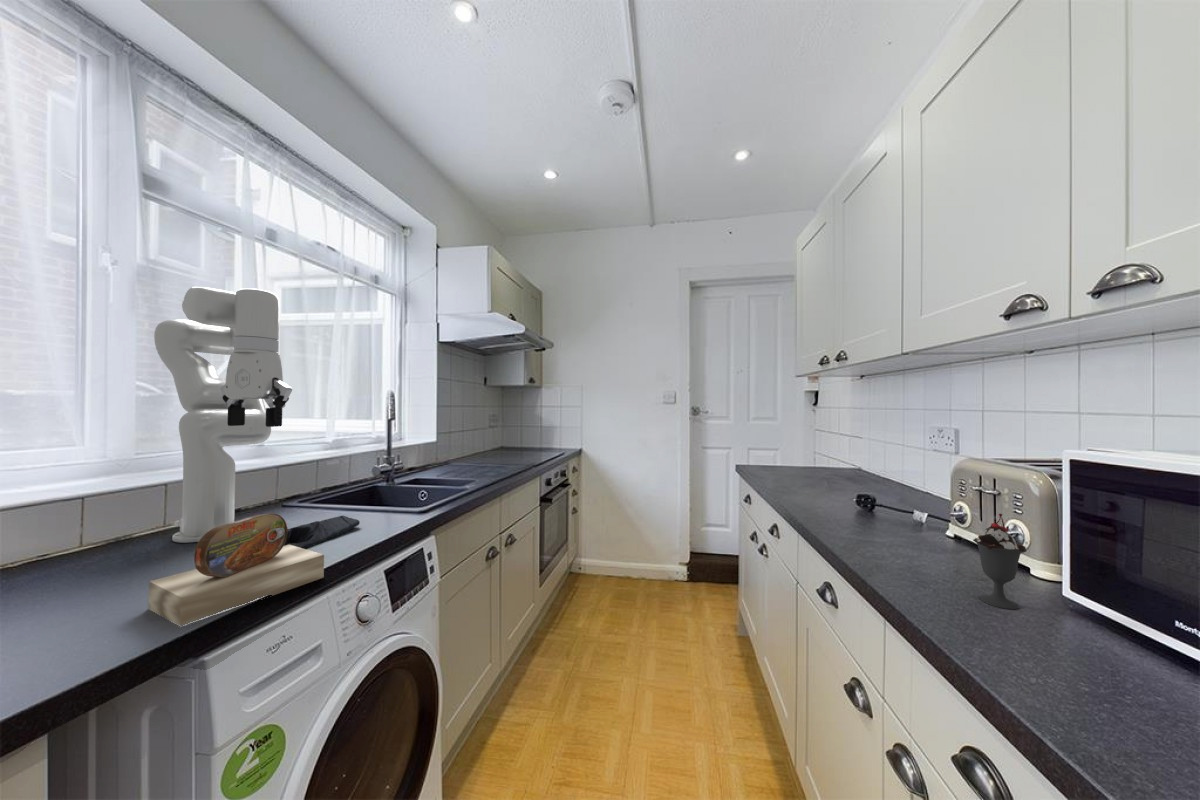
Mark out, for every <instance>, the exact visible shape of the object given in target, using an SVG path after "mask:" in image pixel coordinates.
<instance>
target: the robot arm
mask: <svg viewBox="0 0 1200 800" xmlns="http://www.w3.org/2000/svg"><path fill="white" fill-rule="evenodd" d="M182 300H183V301H182V303H181V309H182V311H183V313H184V315H185V317H186V318H187V319H167V320H163V321H161V322H159V323H158V324H157V326H156V327H155V328H154V329H155V330H154V333H153V334H154V335H153V336H154V338H153V339H154V345H155V348H156V352H157V355H158V356H159V358H160V359H161V361H162V362H163V364H164V366H165V367H166V368H167V369H168V370H169V372H170V373H171V375H172V378H173V382H174V385H175V389H176V392H177V396H178V400H179V403H180V405H181V407H182V409H184V410H185V412H186V413H184V414H183V415H182V416H181V418H180V419H179V421H178V432H179V437H180V441H181V442H180V443H181V447H182V503H181V504H182V507H181V508H182V509H181V517H180V519H179V520H178V519H177V520H175V521H174V522H173V525H174V526H175V527H179V531H178V532H175V533H174V534H172V536H171V537H172V538H171V539H172V542H175V543H179V544H180V543H183V544H184V543H185V544H186V543H187V544H188V543H189V544H190V543H198V542H199V540H200V539H201V538H202V537H203V536H204V535H205V534H206V533H207V532H208V531H210V530H211V529H213V528H215V527H218V526H222V525H225V524H229V523H232V522H235V508H236V507H235V500H236V497H235V496H236V495H235V494H236V463H235V460H234V459H233V457H232V456H231V455H230V454H229V453H227V452H226V451H225V450H224V448H223V447H230V446H247V445H256V444H258V445H259V444H262V443H264V442H266V441H267V440H268V439H269V437H270V436H271V433H272V428H273V427H275V428H277V427H282V426H283V409H285V407H286V403H287V402H288V401H289V399H290V396H291V394H292V391H293V388H292V387H291V386H289V385H288V384H287V383H285V382H284V381H283V380H284V378H283V377H284V376H283V368H282V362H281V361H282V360H281V356H280V355H281V354H279V349H280V348H279V347H280V346H279V343H280V342H279V341H280V337H279V336H280V303H281V302H280V297H278V295H277V294H275V293H274V292H272V291H268V290H263V289H259V288H249V287H248V288H240V289H238V290H237V291H236V292H234V291H228V290H223V289H217V288H213V287H212V288H211V287H205V286H191V287H190V288H188V290H187V291H186V293H185V295H184V297H183V299H182ZM197 353H199V354H200V353H202V354H212V355H213V354H215V355H222V356H223V355H224V356H225V355H227V356H229V359H228V362H227V363H228V364H227V369H226V375H225V379H223V378H220V377H219V376H218V375H219V374H218V371H217V370H216V368H215V366H214V365H213V364H211V363H210V361H208V360H207V359H206V358H205V357H203V356H200V355H199V354H197ZM265 403H266V404H267V406H268V407H266V405H265Z"/></svg>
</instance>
